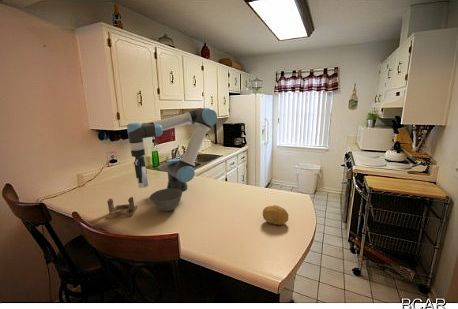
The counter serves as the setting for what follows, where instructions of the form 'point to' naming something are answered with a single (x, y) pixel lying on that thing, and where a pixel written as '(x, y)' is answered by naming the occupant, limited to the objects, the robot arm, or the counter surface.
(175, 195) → the bowl
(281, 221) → the potato
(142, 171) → the roll
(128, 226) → the counter surface
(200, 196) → the counter surface
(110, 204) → the stand
